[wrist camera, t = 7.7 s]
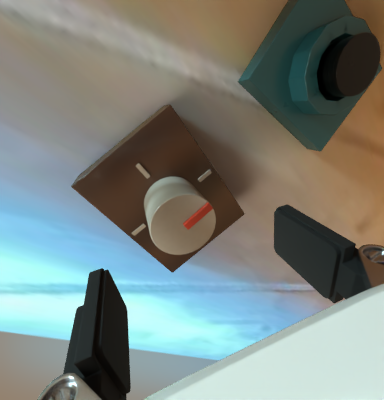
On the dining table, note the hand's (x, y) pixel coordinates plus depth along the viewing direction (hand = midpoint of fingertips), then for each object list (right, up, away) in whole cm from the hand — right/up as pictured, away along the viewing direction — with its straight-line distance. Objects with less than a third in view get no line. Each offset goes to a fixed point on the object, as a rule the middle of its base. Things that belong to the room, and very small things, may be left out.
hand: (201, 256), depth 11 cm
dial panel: (-3, +4, +11) cm, 12 cm away
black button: (+12, +15, +7) cm, 20 cm away
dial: (-2, +3, +8) cm, 9 cm away
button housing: (+11, +16, +10) cm, 22 cm away
